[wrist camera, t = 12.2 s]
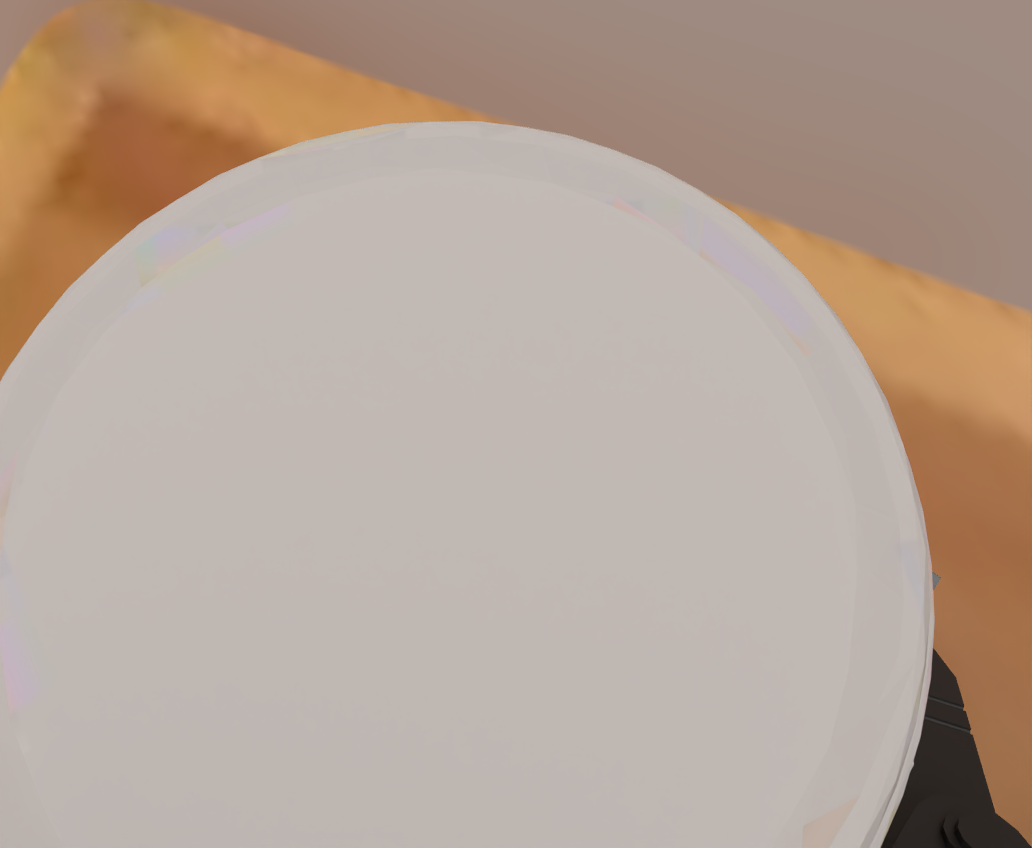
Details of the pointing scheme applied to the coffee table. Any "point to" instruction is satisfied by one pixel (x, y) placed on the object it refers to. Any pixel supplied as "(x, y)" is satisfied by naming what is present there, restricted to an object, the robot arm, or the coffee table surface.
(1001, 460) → the coffee table surface
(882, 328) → the coffee table surface
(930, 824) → the robot arm
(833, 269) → the coffee table surface
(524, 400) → the coffee cup
